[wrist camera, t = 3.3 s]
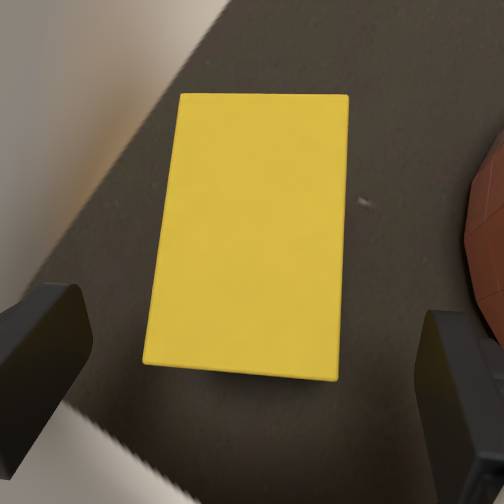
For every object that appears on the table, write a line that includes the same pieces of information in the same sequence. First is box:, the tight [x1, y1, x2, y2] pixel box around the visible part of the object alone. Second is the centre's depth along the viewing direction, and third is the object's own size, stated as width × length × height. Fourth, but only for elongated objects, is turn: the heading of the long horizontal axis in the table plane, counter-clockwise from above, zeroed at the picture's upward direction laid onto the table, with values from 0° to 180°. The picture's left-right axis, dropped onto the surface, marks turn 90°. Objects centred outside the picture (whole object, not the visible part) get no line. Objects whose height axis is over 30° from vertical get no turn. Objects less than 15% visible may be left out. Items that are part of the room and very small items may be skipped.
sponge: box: [142, 93, 349, 382], centre depth 15 cm, size 4×7×8 cm, turn 175°
